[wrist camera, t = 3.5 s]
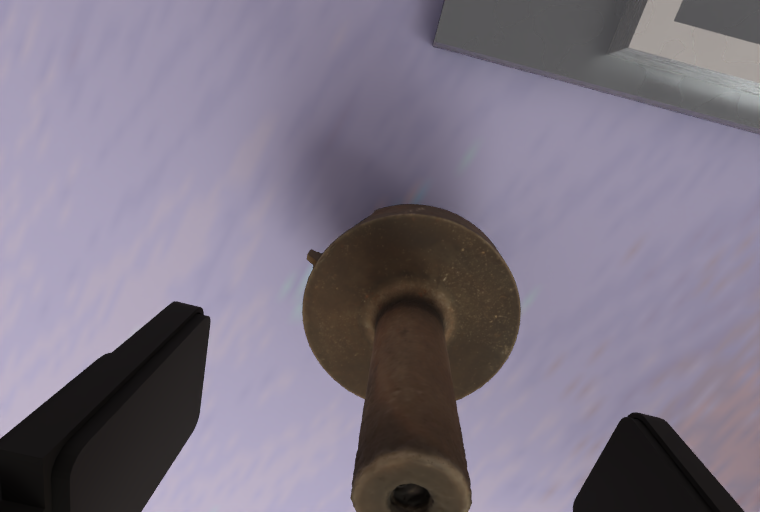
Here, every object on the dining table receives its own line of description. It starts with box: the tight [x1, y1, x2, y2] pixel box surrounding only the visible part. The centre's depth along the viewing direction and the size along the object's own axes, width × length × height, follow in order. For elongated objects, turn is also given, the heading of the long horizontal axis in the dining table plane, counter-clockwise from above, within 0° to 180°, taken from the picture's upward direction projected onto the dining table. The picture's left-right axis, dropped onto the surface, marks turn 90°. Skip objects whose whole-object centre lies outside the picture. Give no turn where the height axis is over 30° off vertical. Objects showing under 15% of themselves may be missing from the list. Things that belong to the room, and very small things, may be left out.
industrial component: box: [302, 204, 521, 512], centre depth 13 cm, size 9×7×12 cm
